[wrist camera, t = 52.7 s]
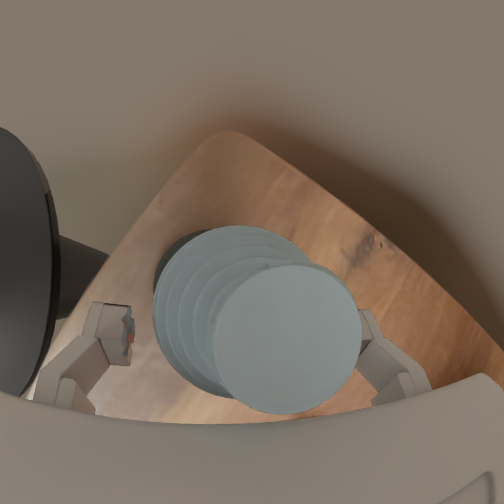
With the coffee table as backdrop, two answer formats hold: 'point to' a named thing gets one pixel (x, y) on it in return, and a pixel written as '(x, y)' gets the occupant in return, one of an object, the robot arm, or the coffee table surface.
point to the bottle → (256, 320)
